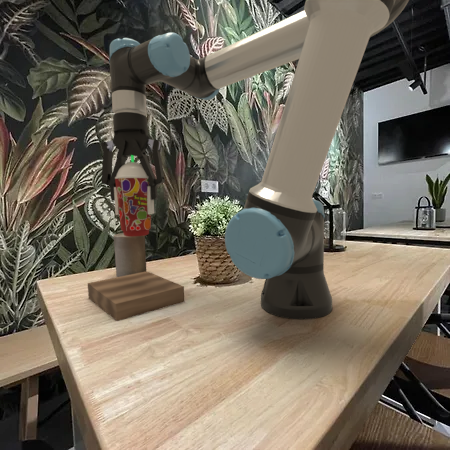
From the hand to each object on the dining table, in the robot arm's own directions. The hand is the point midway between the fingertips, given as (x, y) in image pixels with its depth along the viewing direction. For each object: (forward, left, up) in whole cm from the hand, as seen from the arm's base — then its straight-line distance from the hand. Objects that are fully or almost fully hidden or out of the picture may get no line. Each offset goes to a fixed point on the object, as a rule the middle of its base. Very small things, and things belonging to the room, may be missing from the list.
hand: (135, 214), depth 68 cm
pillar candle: (+25, -8, -22) cm, 34 cm away
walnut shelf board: (+1, +1, -21) cm, 21 cm away
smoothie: (0, 0, -5) cm, 5 cm away
